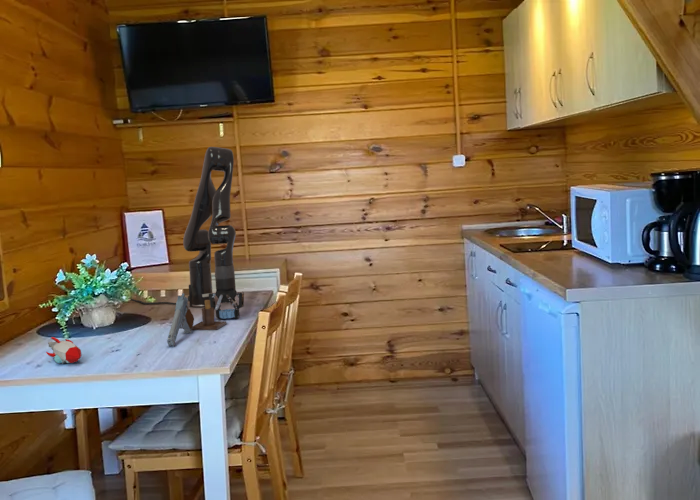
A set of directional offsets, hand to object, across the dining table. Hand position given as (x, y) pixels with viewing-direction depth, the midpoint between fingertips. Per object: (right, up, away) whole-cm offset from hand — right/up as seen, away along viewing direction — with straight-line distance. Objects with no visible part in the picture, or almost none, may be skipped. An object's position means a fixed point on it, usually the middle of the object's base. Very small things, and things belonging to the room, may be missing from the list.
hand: (228, 318), depth 262 cm
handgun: (-11, -4, -31) cm, 33 cm away
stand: (-5, -2, -13) cm, 14 cm away
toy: (-44, -8, -49) cm, 66 cm away
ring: (0, +1, 0) cm, 1 cm away
